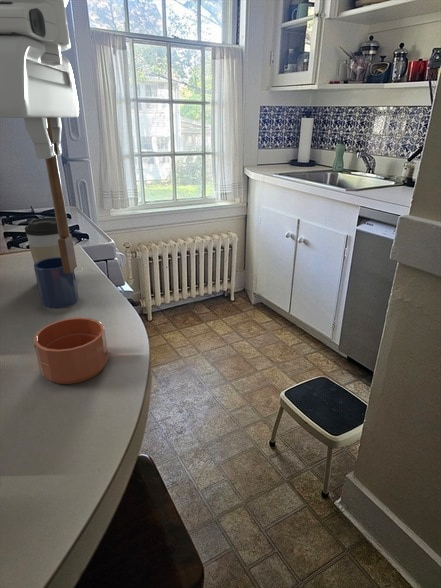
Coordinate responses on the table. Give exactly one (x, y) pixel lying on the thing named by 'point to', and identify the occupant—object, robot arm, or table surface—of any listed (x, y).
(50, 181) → the wooden stirring stick
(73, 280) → the crock
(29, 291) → the table surface
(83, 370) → the bowl
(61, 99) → the robot arm
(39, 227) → the coffee cup
